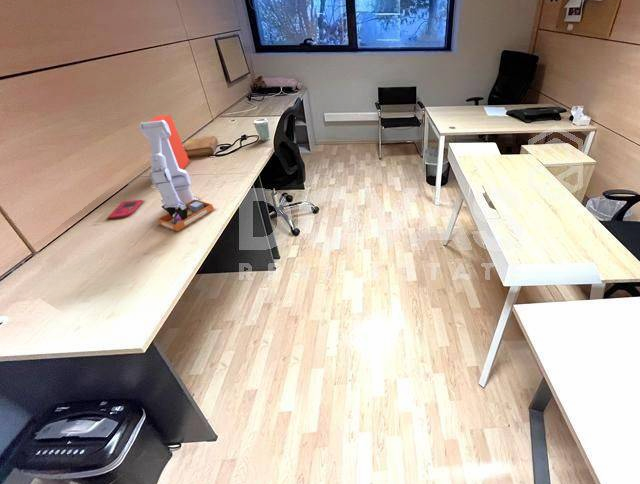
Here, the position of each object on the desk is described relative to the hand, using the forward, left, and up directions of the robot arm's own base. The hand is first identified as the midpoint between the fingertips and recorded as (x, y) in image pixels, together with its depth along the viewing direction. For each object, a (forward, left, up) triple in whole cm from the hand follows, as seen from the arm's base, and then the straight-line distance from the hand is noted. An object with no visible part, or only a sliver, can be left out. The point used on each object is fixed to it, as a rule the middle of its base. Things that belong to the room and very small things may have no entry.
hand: (180, 218), depth 154 cm
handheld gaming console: (-36, -4, -2) cm, 36 cm away
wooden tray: (0, +4, -2) cm, 4 cm away
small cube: (0, +10, -2) cm, 10 cm away
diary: (-70, +67, -2) cm, 97 cm away
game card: (0, 0, -2) cm, 2 cm away
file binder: (-58, +40, -2) cm, 70 cm away
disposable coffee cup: (-44, +102, -2) cm, 111 cm away
